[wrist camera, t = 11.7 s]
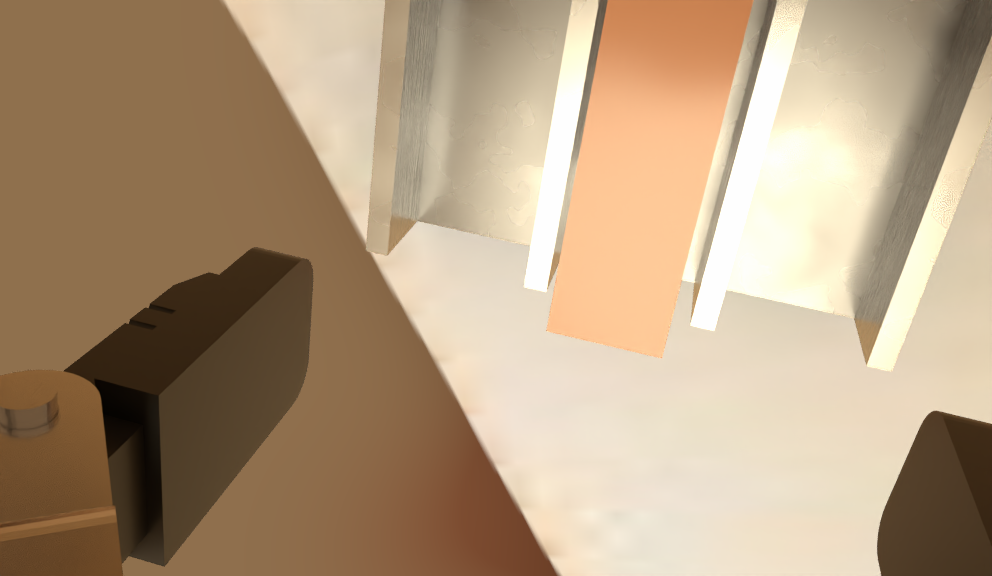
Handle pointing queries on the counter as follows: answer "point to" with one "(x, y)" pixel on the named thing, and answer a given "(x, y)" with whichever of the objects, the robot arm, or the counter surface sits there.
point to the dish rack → (739, 151)
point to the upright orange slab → (644, 167)
